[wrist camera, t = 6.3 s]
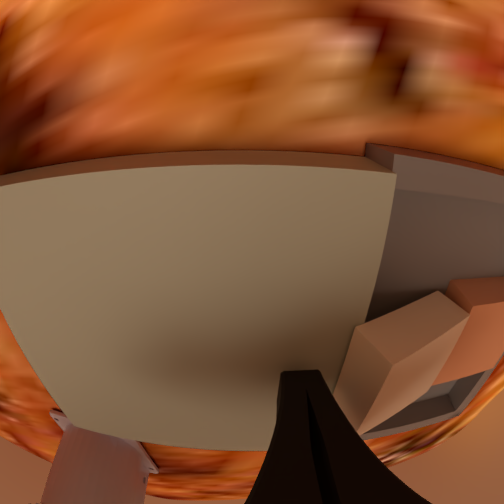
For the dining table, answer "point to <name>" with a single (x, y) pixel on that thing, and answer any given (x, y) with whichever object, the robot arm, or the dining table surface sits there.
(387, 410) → the cream tile
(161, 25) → the dining table surface
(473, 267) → the box
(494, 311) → the terracotta tile
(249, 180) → the beige square slab
